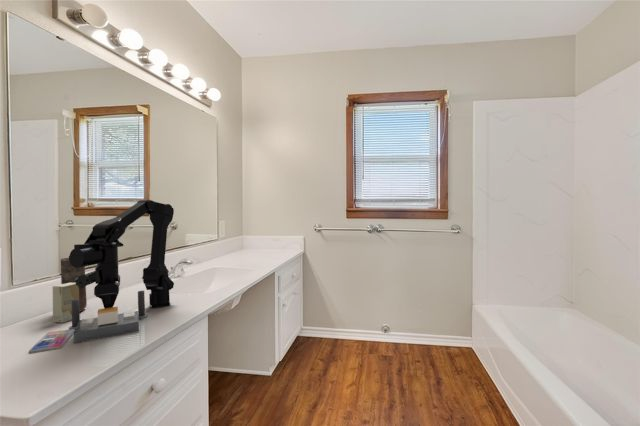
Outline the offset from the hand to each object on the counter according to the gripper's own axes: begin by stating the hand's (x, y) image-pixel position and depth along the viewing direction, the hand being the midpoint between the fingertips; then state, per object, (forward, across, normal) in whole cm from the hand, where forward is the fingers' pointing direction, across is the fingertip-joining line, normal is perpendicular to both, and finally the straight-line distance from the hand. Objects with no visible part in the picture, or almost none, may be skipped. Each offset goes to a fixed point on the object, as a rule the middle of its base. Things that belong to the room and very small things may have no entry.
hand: (109, 310), depth 104 cm
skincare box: (+5, -16, -13) cm, 21 cm away
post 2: (+5, -4, +9) cm, 11 cm away
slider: (+2, +7, 0) cm, 8 cm away
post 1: (+5, -4, -9) cm, 11 cm away
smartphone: (+6, +5, -13) cm, 15 cm away
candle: (+5, -26, -12) cm, 29 cm away
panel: (+5, +5, 0) cm, 7 cm away
